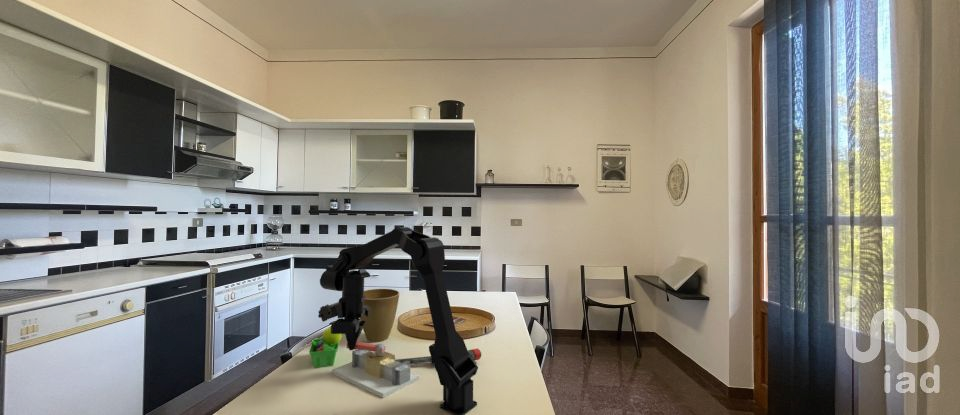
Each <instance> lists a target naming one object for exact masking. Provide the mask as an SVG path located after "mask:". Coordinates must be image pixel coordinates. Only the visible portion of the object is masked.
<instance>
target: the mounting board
mask: <svg viewBox="0 0 960 415" xmlns="http://www.w3.org/2000/svg"><path fill="white" fill-rule="evenodd" d="M331 374H333V375H335V376H337V377H339V378H341V379H343V380H345V381H347V382H349V383H351V384H354V385H356V387H360V388H362V389H364V390H366V391H368V392H370V393H372V394H374V395H377V396H379V397H381V398H383V399H384V398H386V397H388V396H390V395H392V394H394V393H395V392H398V391H399V389H400V390H401V389H403V388H405V387H407V386H409V385H411V384H413V383H415V382H417V381H418V380H420V375H419V374H416V373H413V372H411V371H410V381H408V382H406V383H404V384H402V385H398V384H397V385H392V382H391V381H388V380H386V379H384V378H380V379H379V378H376V377H374V376H372V375H369V374H367V373H365V370H363V369H360V368H358V367H355V368H353V367H352V361H351V362H347V363H345V364H343V365H340V366H338V367H334V368H333V369H331Z"/></svg>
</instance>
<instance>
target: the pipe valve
mask: <svg viewBox="0 0 960 415" xmlns="http://www.w3.org/2000/svg"><path fill="white" fill-rule="evenodd" d="M351 352H352V353H351V355H352V356H351V362H352V367H353V368H355V367H358V368H360V369H363V370H365V373H367V374H369V375H372V376H374V377H376V378H379V379H380V378H384V379H386V380H388V381H391V382H392V385H397V384H398V385H402V384H404V383H406V382H408V381H410V372H411V364H410V361H408V360H407V361H405V362H403V363H400V362H397V361H395V360H396V355H395V354H393V353H389V352H387V351H386V350H385V351H384V355H382V356H377V355H376V352H373V351H366V350H360V349H356V350H355V349H354V350H351Z"/></svg>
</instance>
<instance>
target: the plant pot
mask: <svg viewBox="0 0 960 415" xmlns="http://www.w3.org/2000/svg"><path fill="white" fill-rule="evenodd" d="M364 295H366V296H365V299H364V306H369V307H370V308H371V312H370V316H369V317H366V315H363V316H362V317H361V318H359V319H361V321H366V323H365V325H364V327H363V329H362V331H363V333H364V335H365V338H366V340H367V341H368V342H371V343H378V342H384V341H386V340H388V339H389V337H390V334H391V332H392V329H393V325H394V322H395V320H396V314H397V310H398V304H399V299H400V291H399V290H396V289H392V288H372V289H371V288H370V289H364Z"/></svg>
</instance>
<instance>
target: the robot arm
mask: <svg viewBox="0 0 960 415" xmlns="http://www.w3.org/2000/svg"><path fill="white" fill-rule="evenodd" d="M397 247H399V248H400V249H401V251H403V252H404V253H406V254H407V255H409V256H410V258H411V260H412V265H413V267H414V268H415V269H416V270H417V272H418V273H419V274H420V275H421V277H422V280H423V284H424V288H425V294H426V299H427V302H428V307H429V312H430V316H431V317H430V318H431V321H432V325H433V330H434V334H435V339H434V342H433V343H432V344H430V345H429V346H428V351H429V354H430V356H431V359H432V361H431V362H430V363H431V365H433V367H434V370H435V372H436V373H437V378H438V381H439V384H440V386H442V390H443V391H442V400H443V402H442V403H440V404H439V408H440V409H442V410H444V411H447V412H448V413H451V414H454V415H465V414H467V413H468V412H469V411H470V410H472V409H474V407H476V406H478V402H477V401H476V400H474V380H473V379H471V378H472V377H474V376H475V375H477V373H478V369H479V366H478V365H477V364H476V362H475V361H473V359H472V358H471V357H470V355H469V353H468V350H469V349H467V346H466V343H465V340H464V338H463V337H462V336H461V335H460V334H459V333H458V331H457V328H456V325H455V322H454V317H453V313H452V309H451V304H450V301H449V300H450V299H449V295H448V292H447V286H446V282H445V277H444V273H443V270H444V266H445V262H446V261H445V260H446V256H445V255H446V254H445V246H444V243H443V241H442V240H441V239H440V238H438V237H432V236H429V235H427V234H424V233H421V232H419V231H416V230H415V229H412V228H410V227H407V226H402V227H394V228H393V229H391V231H388V232H387V233H384V234H383V235H380V236H378V237H376V238H374V239H373V240H370V241H368V242H366V243H363V244H360V245H356V246H351V247H346V248H343V249H341V250H340V251H339V252H338V253H339V255H338V256H337V258H336V260H335V262H334V264H333V265H326V266H325V271H323V273H322V274H321V276H320V278H319V284H320V286H321V288H322V289H324V290H330V291H337V292H341V293H342V294H341V297H340V298H339V299H338V301H337V302H334V303H331V304H326V305H322V306H321V307H319V308H320V309H319V310H318V315H317V316H318V318H321V321H322V322H323V323H324V322H326V321H328V320H330V319H332V318H335V317H337V319H336V320H335V321H334V322H333V323H332V324H331V325H330V327H331V334H342V335H344V337H345V339H346V344H347V343H348V347H349V348H348V350H349V351H355V349H354V348H355V346H356V343H357V341H359V338H360V337H361V333H362V331H363V327H364V325H365V323H366V321H361V319H360V318H361V317H362V316H363V315H366V317H369V316H370V312H371V308H370V307H369V306H364V299H365V296H366V295H364V291H365V278H370V277H371V274H370V273H369V271H367V270H366V268H364V267H366V266H367V265H369V264H370V263H371V262H372V261H373V259H374V258H376V256H379V255H381V254H383V253H385V252H387V251H390V250H392V249H395V248H397Z"/></svg>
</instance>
